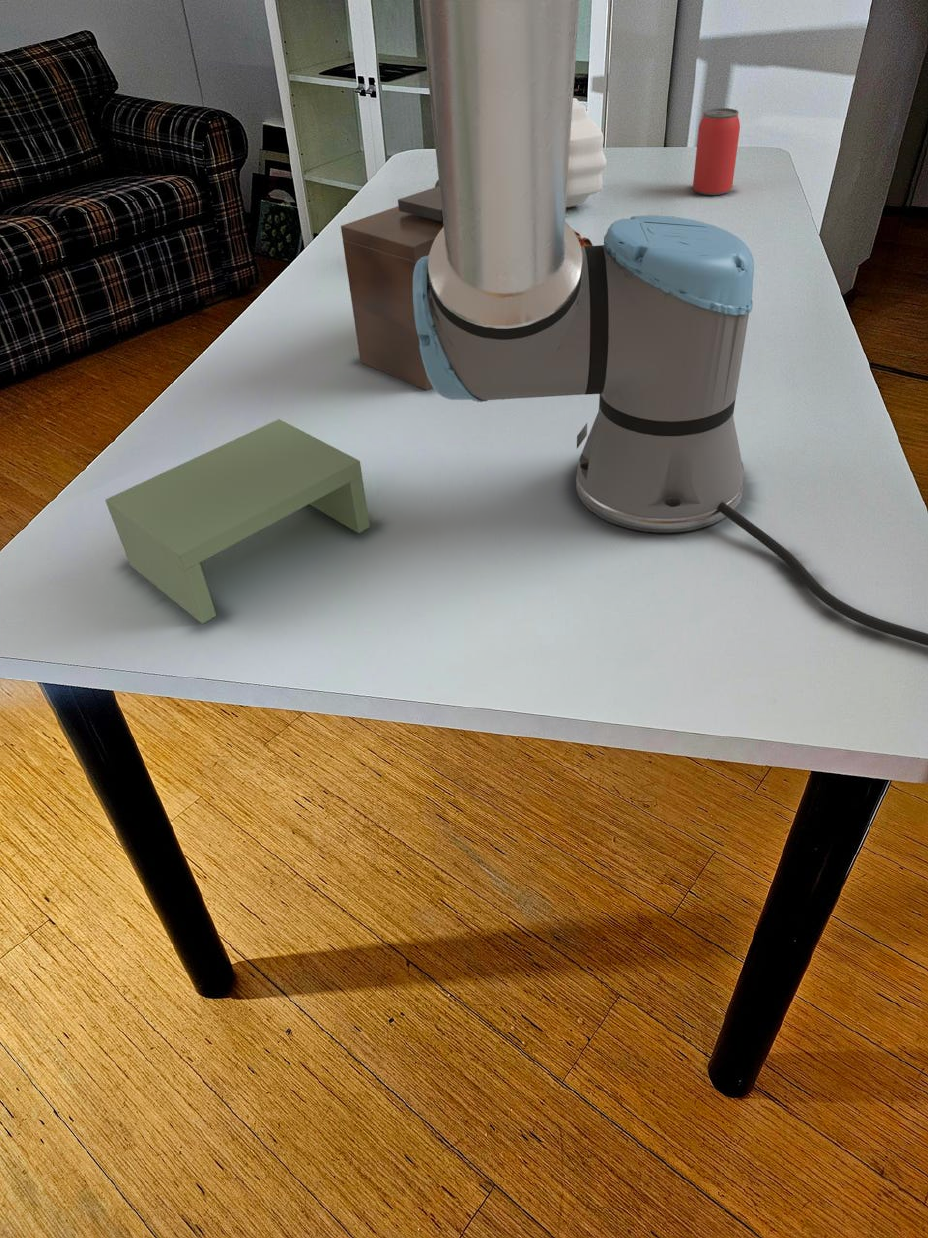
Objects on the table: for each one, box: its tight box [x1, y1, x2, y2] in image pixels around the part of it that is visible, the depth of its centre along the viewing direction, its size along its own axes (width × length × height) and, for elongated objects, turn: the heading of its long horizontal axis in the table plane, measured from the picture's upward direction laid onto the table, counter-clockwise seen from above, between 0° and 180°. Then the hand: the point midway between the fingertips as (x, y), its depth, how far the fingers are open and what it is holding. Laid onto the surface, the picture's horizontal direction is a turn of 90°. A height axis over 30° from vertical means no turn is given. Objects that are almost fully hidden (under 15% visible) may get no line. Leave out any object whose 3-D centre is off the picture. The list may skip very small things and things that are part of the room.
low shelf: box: [104, 418, 371, 625], centre depth 78 cm, size 12×18×7 cm, turn 135°
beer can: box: [692, 107, 741, 196], centre depth 148 cm, size 7×7×12 cm
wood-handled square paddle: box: [397, 186, 443, 222], centre depth 96 cm, size 16×7×2 cm, turn 45°
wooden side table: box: [340, 205, 444, 391], centre depth 105 cm, size 12×20×16 cm, turn 135°
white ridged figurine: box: [566, 97, 607, 208], centre depth 146 cm, size 11×18×16 cm, turn 21°
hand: (505, 261), depth 96 cm, fingers closed on wood-handled square paddle, 3 cm apart
